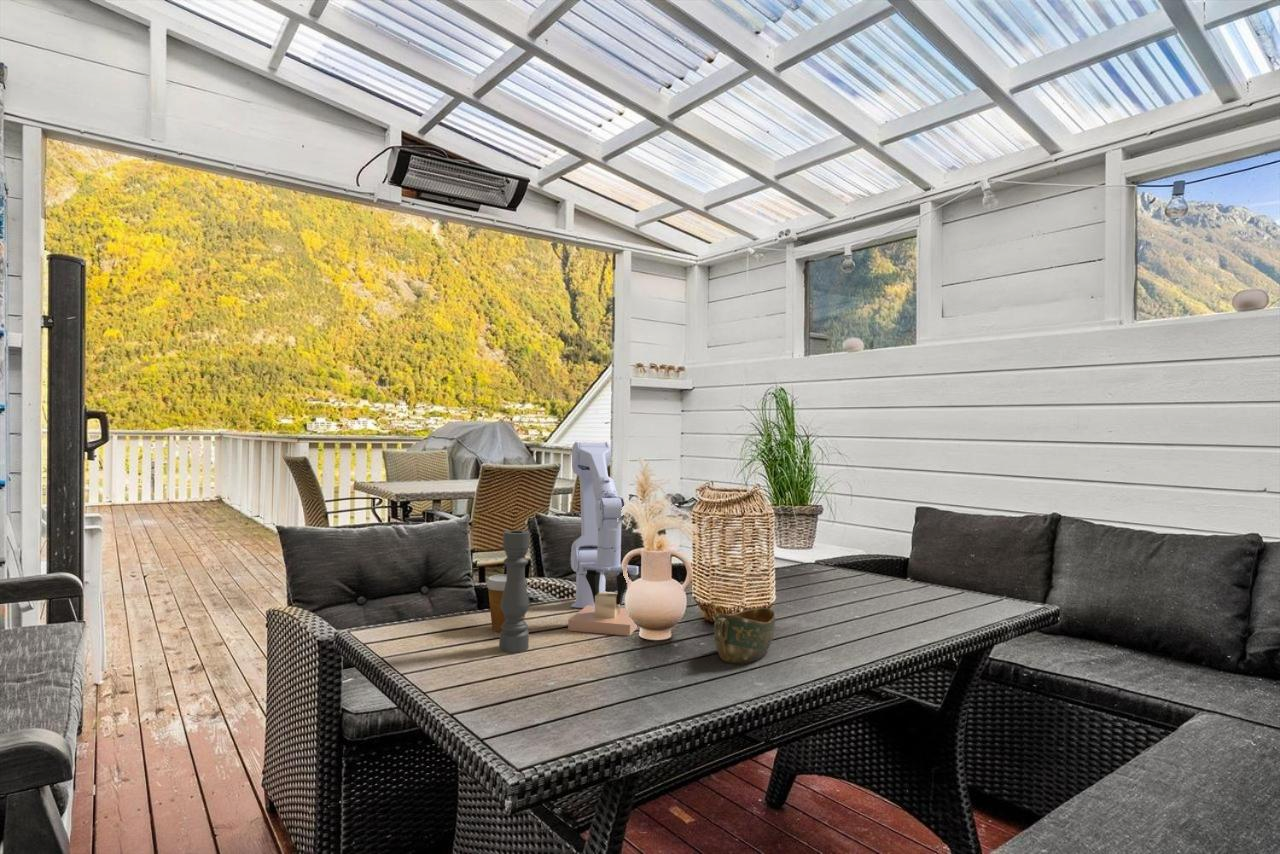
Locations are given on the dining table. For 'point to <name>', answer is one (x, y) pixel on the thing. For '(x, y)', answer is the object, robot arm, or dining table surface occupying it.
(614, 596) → the birch block
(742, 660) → the creamer
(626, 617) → the terracotta base
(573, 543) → the robot arm
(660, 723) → the dining table surface
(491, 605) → the disposable coffee cup
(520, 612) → the candle holder
